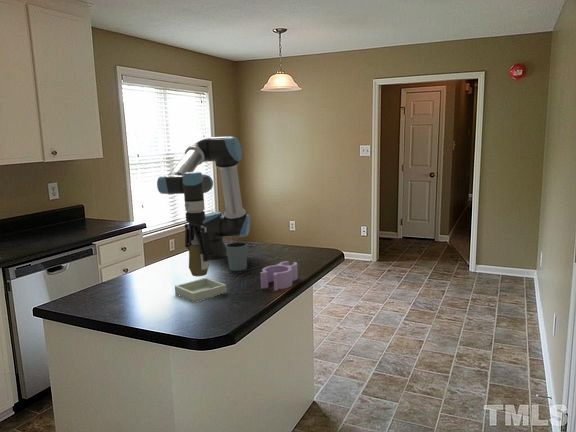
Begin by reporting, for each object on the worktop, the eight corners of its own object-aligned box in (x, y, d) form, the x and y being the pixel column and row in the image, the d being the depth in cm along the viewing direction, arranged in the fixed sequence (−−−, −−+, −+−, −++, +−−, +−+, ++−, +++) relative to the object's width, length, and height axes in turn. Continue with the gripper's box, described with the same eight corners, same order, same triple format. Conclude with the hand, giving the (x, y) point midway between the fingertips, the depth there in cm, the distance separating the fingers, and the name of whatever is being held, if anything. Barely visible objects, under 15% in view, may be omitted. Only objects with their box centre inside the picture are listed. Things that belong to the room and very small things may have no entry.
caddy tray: (175, 294, 189) (174, 286, 189) (206, 285, 199) (206, 277, 198) (194, 302, 178) (194, 294, 178) (226, 293, 188) (226, 284, 188)
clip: (280, 274, 211) (279, 260, 209) (304, 278, 204) (304, 263, 203) (255, 288, 194) (254, 272, 192) (281, 292, 187) (280, 275, 186)
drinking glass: (250, 265, 227) (248, 241, 225) (246, 271, 217) (244, 246, 215) (229, 265, 228) (228, 242, 226) (225, 271, 219) (223, 246, 217)
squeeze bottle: (207, 277, 183) (204, 232, 180) (187, 278, 183) (183, 233, 180) (211, 271, 191) (208, 228, 188) (191, 272, 191) (188, 229, 188)
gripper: (173, 210, 188) (177, 264, 192) (201, 215, 173) (205, 273, 177) (189, 207, 193) (193, 260, 197) (218, 212, 178) (221, 269, 182)
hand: (199, 266), depth 187 cm, fingers closed on squeeze bottle, 8 cm apart
